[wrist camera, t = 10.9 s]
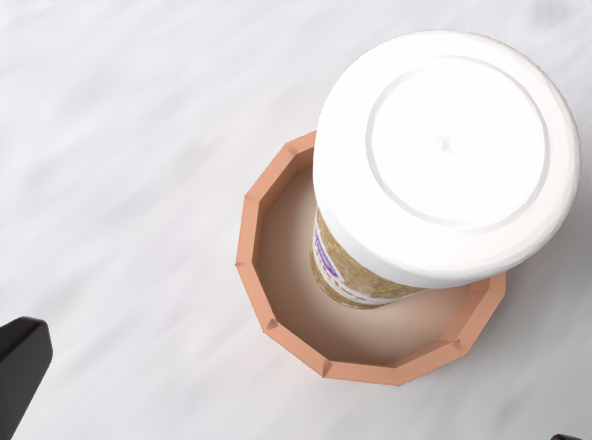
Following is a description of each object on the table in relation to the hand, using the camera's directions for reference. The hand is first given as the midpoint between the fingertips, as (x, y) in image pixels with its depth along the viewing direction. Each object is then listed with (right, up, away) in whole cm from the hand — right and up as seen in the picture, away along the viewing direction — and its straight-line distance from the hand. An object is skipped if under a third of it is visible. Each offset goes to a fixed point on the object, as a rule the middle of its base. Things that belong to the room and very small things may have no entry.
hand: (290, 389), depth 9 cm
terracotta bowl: (+3, +1, +13) cm, 14 cm away
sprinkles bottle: (+3, +1, +13) cm, 13 cm away
